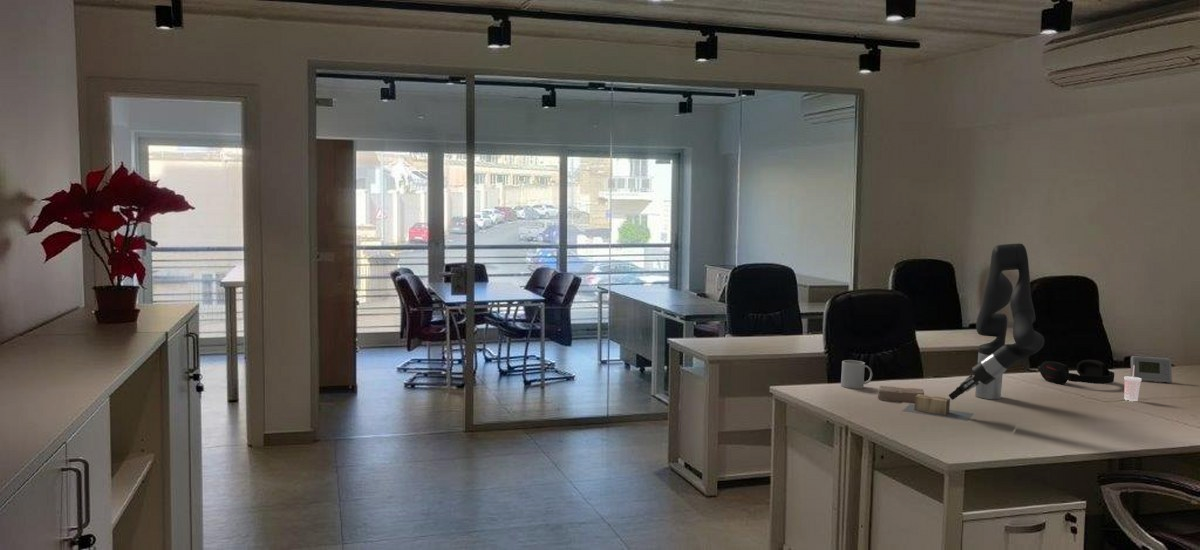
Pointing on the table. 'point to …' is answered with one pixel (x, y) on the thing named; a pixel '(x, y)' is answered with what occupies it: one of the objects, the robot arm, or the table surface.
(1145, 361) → the digital clock
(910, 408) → the mat
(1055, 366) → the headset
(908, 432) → the table surface
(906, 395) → the brick
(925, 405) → the oak block
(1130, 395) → the beverage cup
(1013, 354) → the robot arm
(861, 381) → the mug
